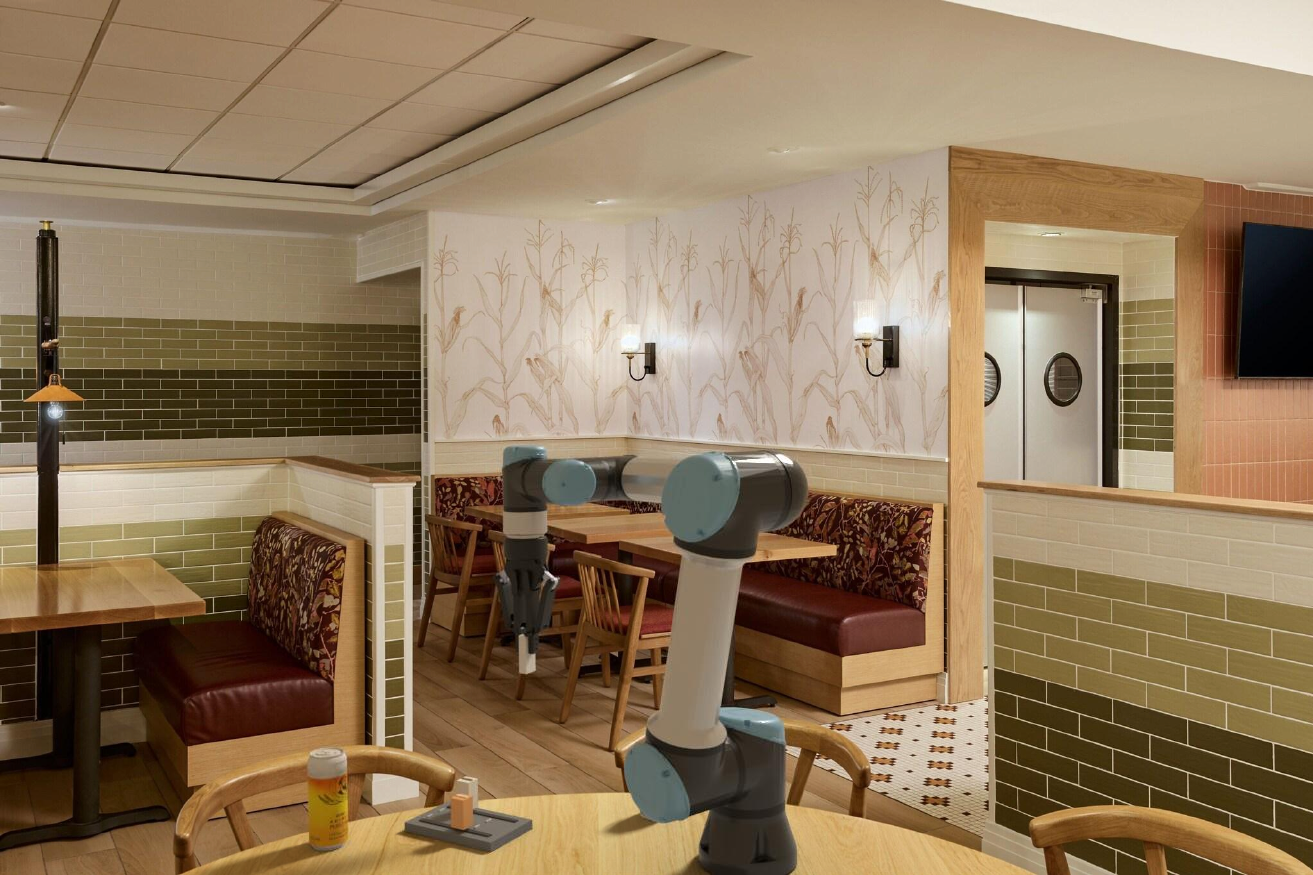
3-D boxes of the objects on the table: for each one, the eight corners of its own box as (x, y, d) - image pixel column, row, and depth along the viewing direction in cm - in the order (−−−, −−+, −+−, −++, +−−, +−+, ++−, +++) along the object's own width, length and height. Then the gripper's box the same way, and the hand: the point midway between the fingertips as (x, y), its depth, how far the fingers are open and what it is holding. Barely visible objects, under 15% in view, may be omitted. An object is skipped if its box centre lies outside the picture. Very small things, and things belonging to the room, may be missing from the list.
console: (532, 828, 187) (532, 818, 187) (491, 851, 178) (491, 841, 178) (448, 809, 196) (448, 799, 196) (404, 831, 187) (404, 820, 187)
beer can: (337, 853, 178) (335, 759, 178) (301, 850, 179) (300, 756, 179) (355, 838, 184) (353, 747, 183) (320, 835, 185) (318, 745, 185)
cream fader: (478, 806, 192) (477, 777, 192) (469, 811, 190) (468, 781, 190) (466, 803, 193) (465, 775, 193) (457, 808, 191) (456, 779, 191)
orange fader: (473, 825, 184) (472, 794, 184) (463, 830, 182) (463, 799, 181) (460, 822, 185) (460, 792, 185) (451, 827, 183) (450, 796, 183)
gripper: (569, 534, 194) (571, 671, 194) (508, 531, 200) (510, 663, 201) (544, 539, 187) (545, 681, 188) (481, 535, 193) (483, 672, 194)
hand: (527, 671), depth 194 cm, fingers closed
